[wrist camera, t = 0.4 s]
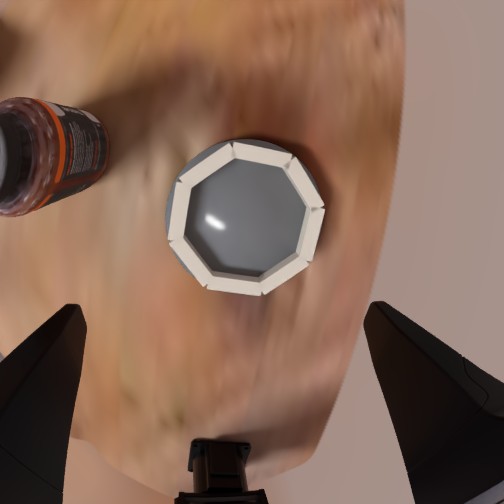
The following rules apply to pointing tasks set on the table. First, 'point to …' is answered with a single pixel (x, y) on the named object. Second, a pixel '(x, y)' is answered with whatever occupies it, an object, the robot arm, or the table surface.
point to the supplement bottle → (47, 153)
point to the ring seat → (244, 216)
